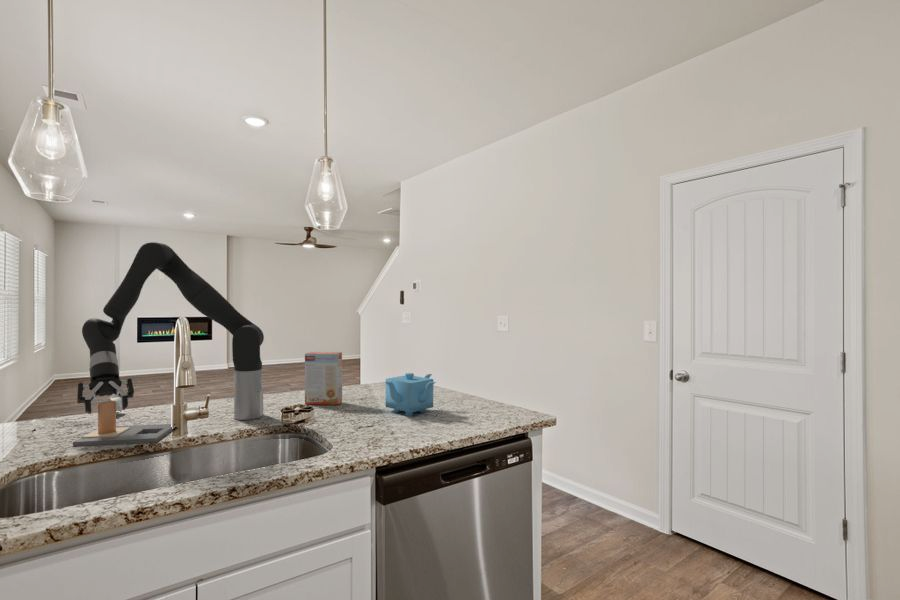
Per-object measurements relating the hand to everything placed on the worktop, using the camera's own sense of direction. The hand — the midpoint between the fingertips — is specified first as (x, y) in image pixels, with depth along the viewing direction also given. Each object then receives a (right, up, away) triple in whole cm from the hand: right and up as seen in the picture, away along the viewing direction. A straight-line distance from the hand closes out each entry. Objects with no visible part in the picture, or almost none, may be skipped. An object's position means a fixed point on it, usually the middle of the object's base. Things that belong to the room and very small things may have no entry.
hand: (107, 410), depth 143 cm
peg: (-1, -7, +1) cm, 7 cm away
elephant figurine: (-19, -8, +28) cm, 35 cm away
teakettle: (+91, -9, +34) cm, 97 cm away
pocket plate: (+5, -9, +2) cm, 10 cm away
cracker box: (+54, -9, +48) cm, 72 cm away
